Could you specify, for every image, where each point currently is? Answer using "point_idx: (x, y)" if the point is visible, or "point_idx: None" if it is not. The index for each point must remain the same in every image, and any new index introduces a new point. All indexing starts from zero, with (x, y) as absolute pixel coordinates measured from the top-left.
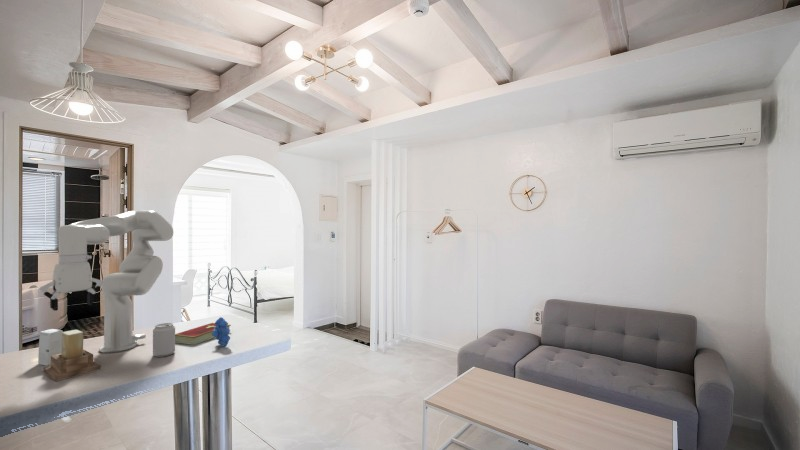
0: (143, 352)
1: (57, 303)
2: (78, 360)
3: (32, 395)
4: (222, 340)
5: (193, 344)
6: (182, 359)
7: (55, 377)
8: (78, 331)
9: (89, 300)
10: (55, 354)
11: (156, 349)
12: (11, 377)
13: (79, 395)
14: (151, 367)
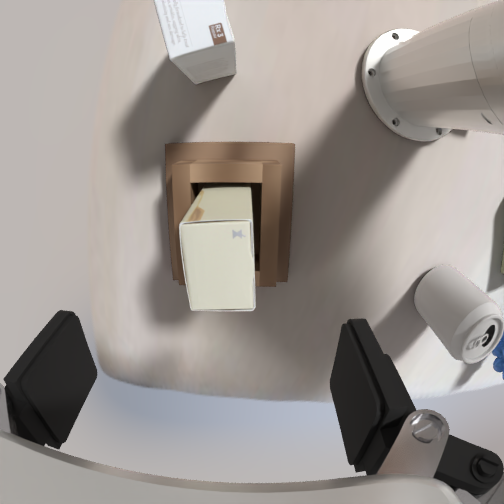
0: (428, 217)
1: (75, 414)
2: None
3: (129, 325)
4: (499, 353)
5: (501, 271)
6: (418, 358)
7: (173, 277)
8: (242, 281)
9: (341, 405)
10: (214, 72)
11: (422, 313)
12: (103, 125)
13: (197, 393)
14: None
